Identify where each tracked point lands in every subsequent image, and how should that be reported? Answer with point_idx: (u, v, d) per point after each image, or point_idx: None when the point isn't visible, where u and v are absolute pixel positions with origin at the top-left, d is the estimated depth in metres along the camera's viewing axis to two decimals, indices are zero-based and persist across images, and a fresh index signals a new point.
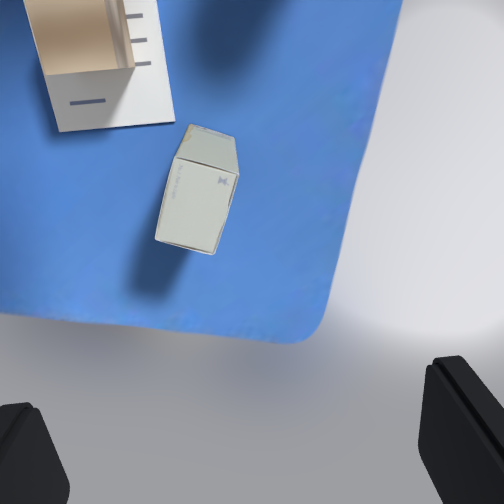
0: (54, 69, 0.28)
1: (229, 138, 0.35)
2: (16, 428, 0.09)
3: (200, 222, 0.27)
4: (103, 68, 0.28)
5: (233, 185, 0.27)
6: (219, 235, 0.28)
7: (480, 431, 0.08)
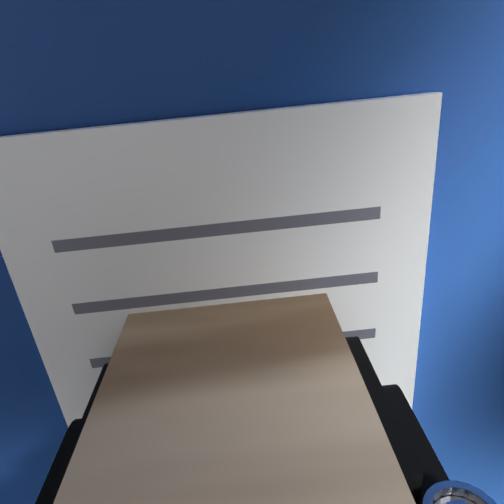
0: None
1: None
2: None
3: None
4: None
5: None
6: None
7: None
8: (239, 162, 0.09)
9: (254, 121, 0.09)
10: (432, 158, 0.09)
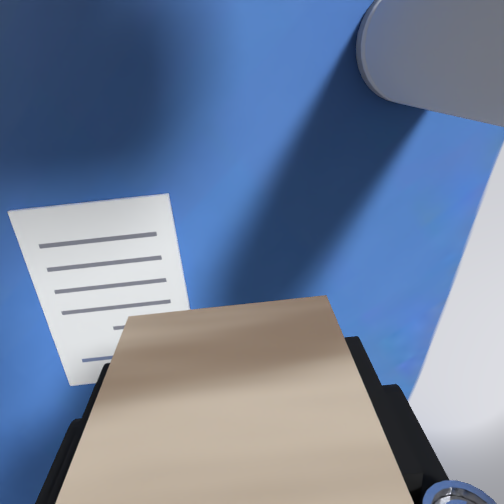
0: None
1: None
2: None
3: None
4: None
5: None
6: None
7: None
8: (102, 217, 0.26)
9: (105, 204, 0.26)
10: (170, 215, 0.26)
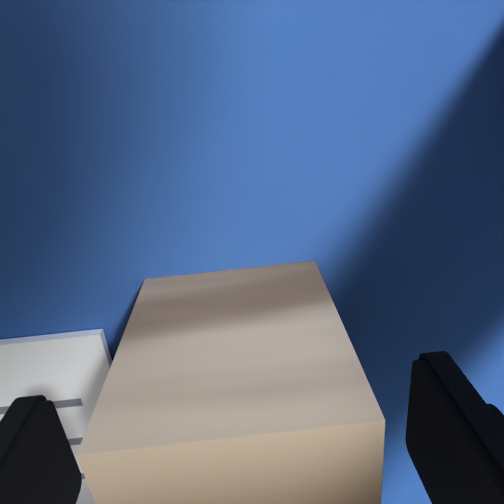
0: None
1: None
2: (32, 419, 0.09)
3: None
4: None
5: None
6: None
7: (462, 424, 0.08)
8: None
9: None
10: (107, 370, 0.13)
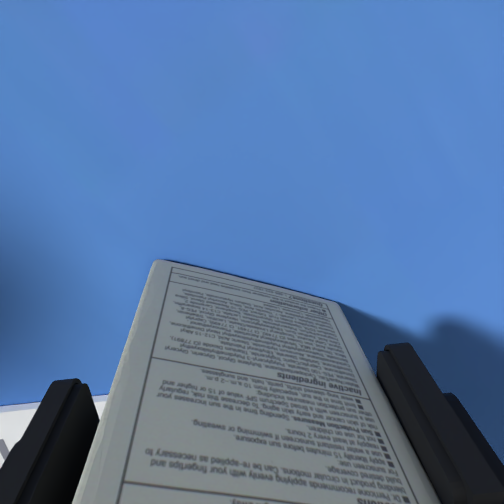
0: None
1: None
2: (70, 401, 0.09)
3: None
4: None
5: None
6: None
7: (416, 410, 0.08)
8: None
9: None
10: None
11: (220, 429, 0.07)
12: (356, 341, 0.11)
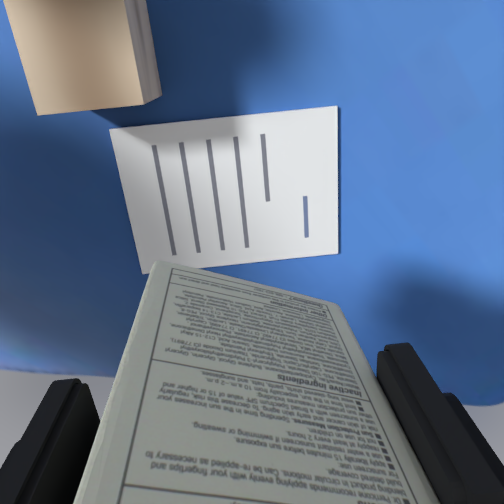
0: (134, 88, 0.19)
1: None
2: (71, 401, 0.09)
3: None
4: (122, 5, 0.18)
5: None
6: None
7: (416, 410, 0.08)
8: (140, 196, 0.27)
9: (126, 191, 0.27)
10: (131, 128, 0.25)
11: (220, 431, 0.07)
12: (355, 342, 0.11)
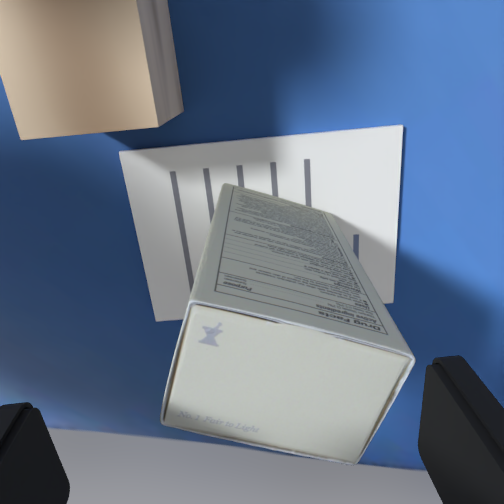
0: (146, 106, 0.14)
1: None
2: (16, 428, 0.09)
3: (318, 383, 0.11)
4: None
5: (223, 309, 0.10)
6: (360, 342, 0.11)
7: (480, 431, 0.08)
8: (155, 231, 0.22)
9: (138, 225, 0.22)
10: (145, 151, 0.20)
11: (262, 231, 0.16)
12: (338, 226, 0.20)
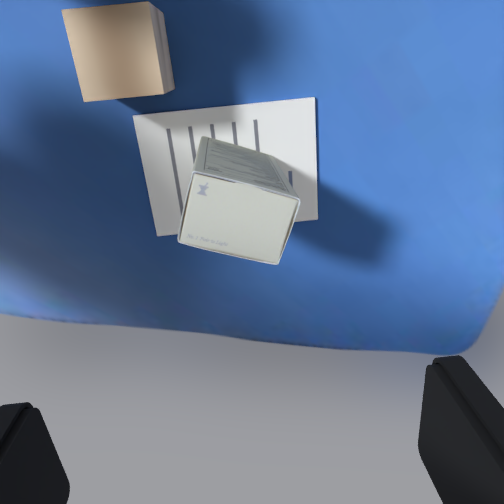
0: (157, 82, 0.25)
1: None
2: (16, 428, 0.09)
3: (256, 215, 0.23)
4: (150, 20, 0.24)
5: (208, 176, 0.22)
6: (274, 192, 0.22)
7: (480, 431, 0.08)
8: (156, 170, 0.33)
9: (145, 166, 0.33)
10: (150, 115, 0.32)
11: (227, 156, 0.27)
12: (275, 160, 0.31)
